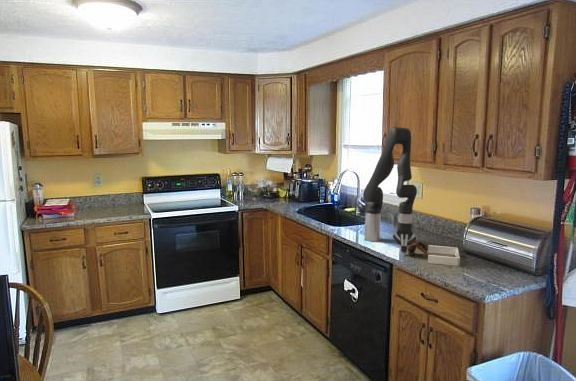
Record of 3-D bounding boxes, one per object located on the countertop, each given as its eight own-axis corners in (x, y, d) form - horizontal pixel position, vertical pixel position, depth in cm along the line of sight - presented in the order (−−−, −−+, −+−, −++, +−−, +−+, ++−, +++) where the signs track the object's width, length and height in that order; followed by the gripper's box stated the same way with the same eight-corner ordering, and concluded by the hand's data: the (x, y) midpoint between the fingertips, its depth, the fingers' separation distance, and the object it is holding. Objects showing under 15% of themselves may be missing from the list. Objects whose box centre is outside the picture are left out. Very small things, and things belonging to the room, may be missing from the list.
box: (427, 262, 206) (428, 255, 205) (428, 252, 224) (428, 245, 224) (459, 266, 201) (459, 258, 200) (457, 254, 219) (457, 247, 219)
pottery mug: (412, 251, 226) (421, 240, 223) (424, 263, 219) (433, 251, 217) (400, 250, 219) (408, 238, 216) (411, 262, 212) (420, 250, 209)
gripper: (418, 220, 217) (416, 251, 220) (393, 219, 222) (392, 249, 224) (417, 223, 210) (416, 255, 213) (391, 221, 215) (390, 253, 217)
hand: (403, 252), depth 219 cm, fingers closed
